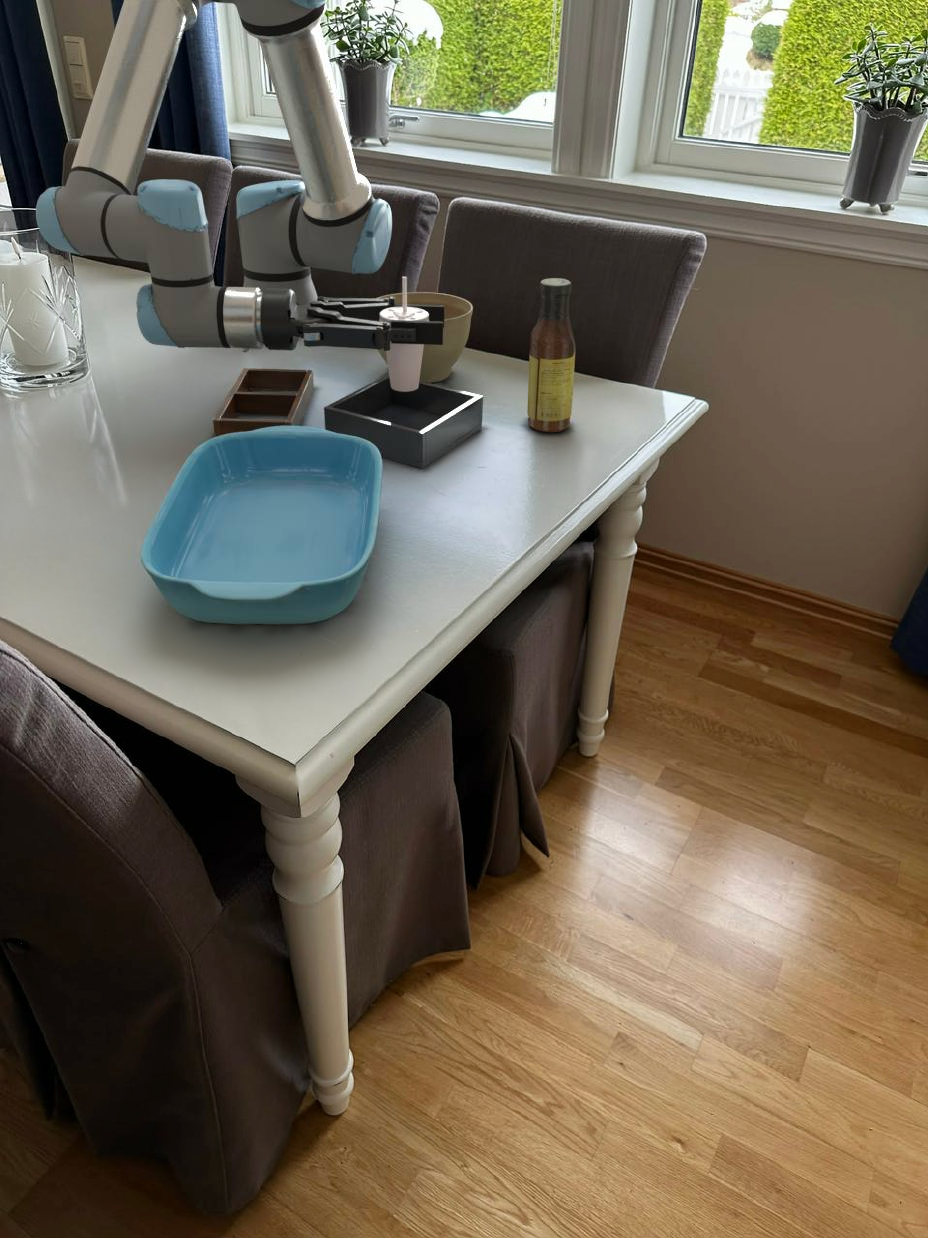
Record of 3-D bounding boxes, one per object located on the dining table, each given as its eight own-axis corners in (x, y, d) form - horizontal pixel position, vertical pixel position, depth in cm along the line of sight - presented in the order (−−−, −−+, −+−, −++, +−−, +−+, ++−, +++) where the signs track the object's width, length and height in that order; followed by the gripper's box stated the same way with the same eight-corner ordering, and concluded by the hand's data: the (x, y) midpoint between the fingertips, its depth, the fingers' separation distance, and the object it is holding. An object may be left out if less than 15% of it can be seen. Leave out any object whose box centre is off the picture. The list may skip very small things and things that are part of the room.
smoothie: (431, 379, 123) (432, 273, 115) (425, 396, 118) (425, 286, 110) (385, 376, 123) (383, 270, 115) (376, 393, 118) (374, 283, 110)
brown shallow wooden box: (246, 387, 137) (243, 367, 136) (314, 388, 137) (312, 369, 136) (215, 441, 121) (212, 420, 119) (293, 443, 121) (291, 422, 119)
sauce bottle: (578, 426, 129) (593, 282, 117) (551, 438, 125) (564, 291, 113) (543, 413, 132) (554, 272, 121) (515, 424, 128) (524, 280, 117)
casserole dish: (372, 656, 83) (369, 592, 79) (127, 655, 82) (112, 590, 78) (388, 478, 113) (387, 424, 109) (210, 476, 112) (202, 422, 108)
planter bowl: (477, 362, 149) (480, 294, 143) (460, 397, 136) (462, 324, 130) (383, 353, 151) (382, 287, 145) (357, 387, 138) (354, 316, 132)
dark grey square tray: (390, 404, 133) (389, 373, 130) (482, 428, 127) (483, 395, 124) (325, 440, 122) (323, 407, 119) (422, 468, 116) (422, 433, 113)
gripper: (279, 325, 126) (444, 330, 126) (252, 373, 110) (441, 379, 110) (275, 269, 121) (445, 274, 122) (245, 311, 105) (442, 317, 106)
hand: (443, 324), depth 116 cm, fingers closed on smoothie, 6 cm apart
